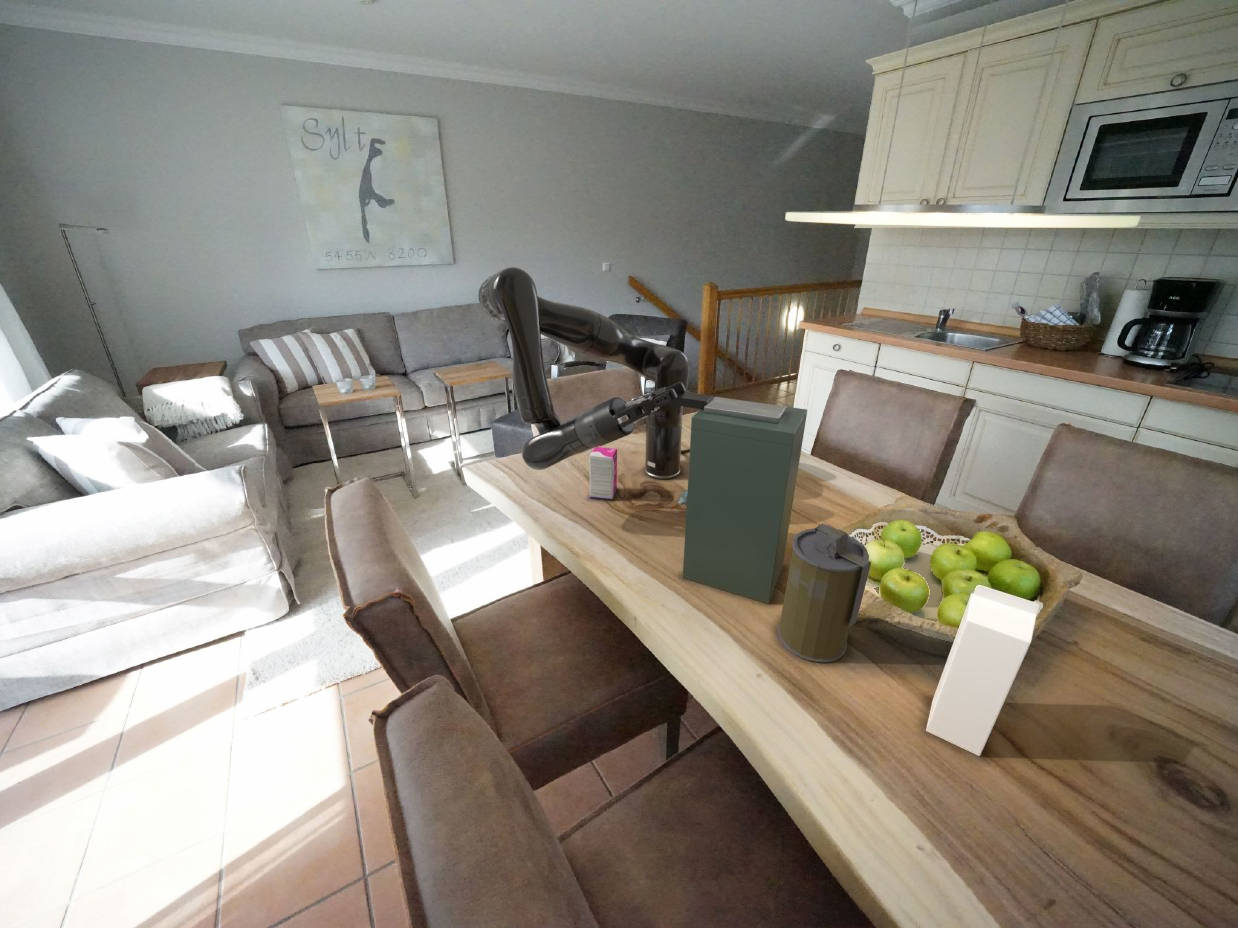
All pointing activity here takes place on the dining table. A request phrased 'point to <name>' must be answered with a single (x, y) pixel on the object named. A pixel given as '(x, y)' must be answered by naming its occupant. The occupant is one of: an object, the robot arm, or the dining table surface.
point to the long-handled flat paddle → (728, 406)
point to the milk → (981, 667)
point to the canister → (822, 593)
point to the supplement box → (603, 473)
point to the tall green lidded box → (740, 500)
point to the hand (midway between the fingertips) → (679, 390)
